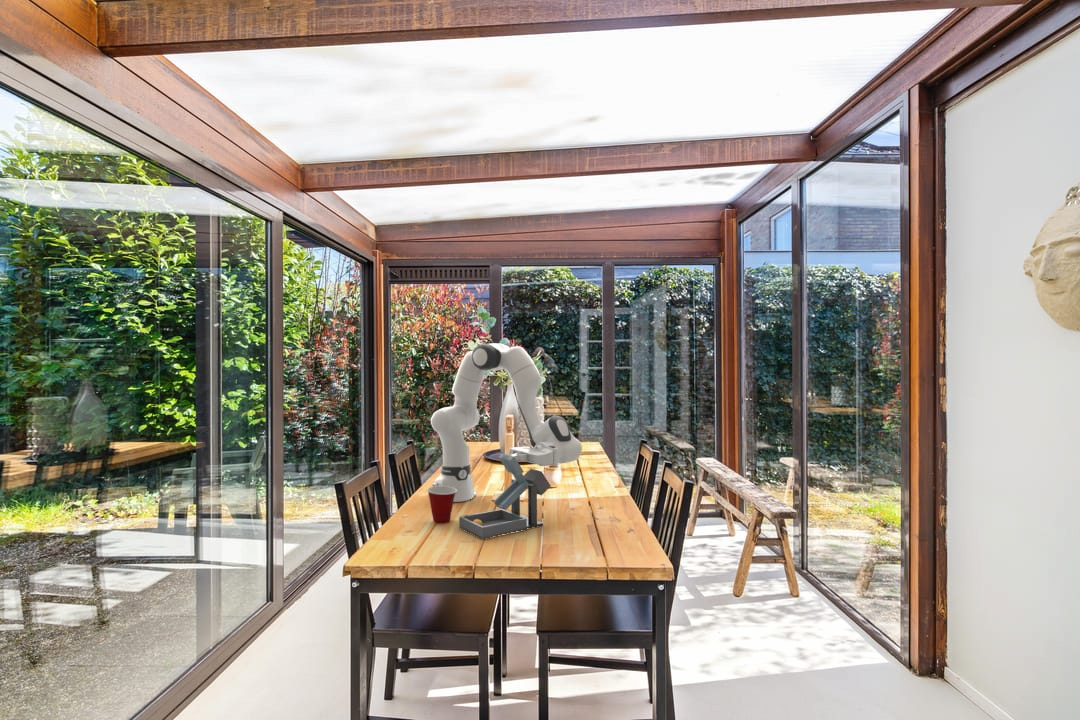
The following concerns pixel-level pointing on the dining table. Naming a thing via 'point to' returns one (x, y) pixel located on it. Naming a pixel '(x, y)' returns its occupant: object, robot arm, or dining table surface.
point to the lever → (519, 482)
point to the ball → (478, 522)
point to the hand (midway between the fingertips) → (512, 457)
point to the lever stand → (531, 506)
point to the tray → (493, 523)
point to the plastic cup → (441, 502)
